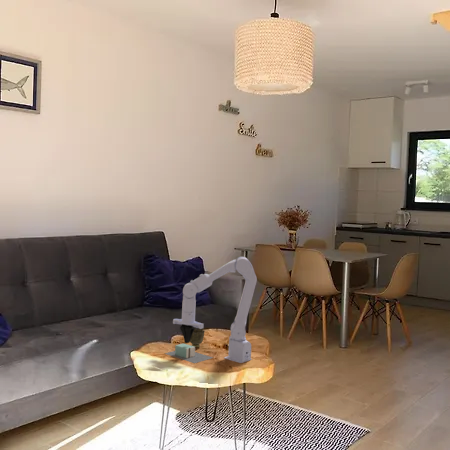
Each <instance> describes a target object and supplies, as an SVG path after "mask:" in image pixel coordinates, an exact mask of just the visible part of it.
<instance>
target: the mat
mask: <svg viewBox="0 0 450 450" xmlns="http://www.w3.org/2000/svg"><path fill="white" fill-rule="evenodd" d="M164 354H165V355H168V356H171V357H174V358H176V359H180V360H182V361H186V362H189V363H192V364H198V363H201V362H204V361H208V360H211V359H214V357H213V356H211V355H210V356H209V355H206V354H203V353H200V352H196V351H195V356H193V357H189V358H184V357H181V356H178V355H175V350H172V351H168V352H165V353H164Z"/></svg>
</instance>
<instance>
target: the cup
mask: <svg viewBox="0 0 450 450" xmlns="http://www.w3.org/2000/svg"><path fill="white" fill-rule="evenodd" d="M204 336H205V329H204V328H202V329H199V328H195V330H194V332H193V334H192V336H191V339H190V342H189V343H190V344H191V346H194V347H195V348H200V346H201V344H202V343H203V342H204Z"/></svg>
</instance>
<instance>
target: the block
mask: <svg viewBox="0 0 450 450" xmlns="http://www.w3.org/2000/svg"><path fill="white" fill-rule="evenodd" d="M174 347H175V350H174V351H175V355H178V356H181V357H184V358H189V357H193V356H195V352H196V347H194V346H192V344H191V345H190V344H188V343H185V342H184V343H179V344H175V346H174Z"/></svg>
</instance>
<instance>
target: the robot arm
mask: <svg viewBox="0 0 450 450" xmlns="http://www.w3.org/2000/svg"><path fill="white" fill-rule="evenodd" d="M236 272H237V273H239V275H241V276H242V277H243V279H244V286H243V289H242V292H241V293H242V294H241V298H240V301H239V304H238V307H237V311H236V316H235V317H234V320H233V322H232V323H231V325H230V335H229V337H228V356H225V357H223V358H224V359H226V360H229V361H232V362H236V363H239V364H242V363H245V362H248V361H251V360H253V359H252V343H251V342H250V341H248V340H247V337H246V334H247V332H246V326H247V319H248V316H249V312H250V308H251V304H252V300H253V297H254V292H255V290H256V289H255V288H256V286H257V282H258V278H257V275H256V272H255V269H254V267H253V265H252V263H251V261H250V260H249V258H247V257H245V256H238V257H236V258H235V259H232V260H230V261H229V262H227V263H225V264H224V265H222V266H220V267H219V268H216V269H215V270H214V271H213V272H211V273H209V274H208V273H204V274H203V273H201V274H199V276H198V277H197V278H195V279H194V280H193V279H191V280H190V282H188V283H186V284H184V286H183V288H182V304H181V305H182V308H181V318H173V320H172V324H173V325H175V324H176V325H180V326H179V329H180V331H181V333H182V335H183V340H184V344H188V343H191V342H190V339H191V336H192V334H193V332H194V330H195V329H204V328H205V327H204V324H205V323H201V322H198V321H196V302H197V300H196V295H197V293H201V292H202V291H204V290H206V289H208V288H209V287H211V286H212V285H213V282H214V281H215V280H217V279H220V278H221V277H222V276H224V275H226V274H228V273H234V274H235V273H236Z"/></svg>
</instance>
